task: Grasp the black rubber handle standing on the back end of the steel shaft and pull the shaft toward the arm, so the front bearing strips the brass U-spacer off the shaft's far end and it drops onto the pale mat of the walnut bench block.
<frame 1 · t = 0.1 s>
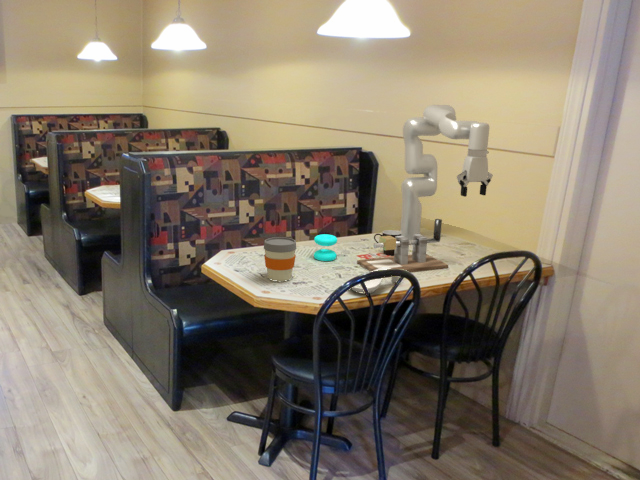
hand: (473, 195, 242), 31 cm above the table, tool pointing down, fingers open, 9 cm apart
coffee mug: (387, 253, 268), on the table
spacer: (387, 248, 245), point 8 cm above the table, touching shaft
donuts: (325, 259, 257), on the table
bench block: (404, 265, 250), on the table
shaft: (408, 233, 247), point 14 cm above the table, slide at 0.0 cm, touching spacer
reusable coffee cup: (279, 278, 229), on the table
spoon rest: (374, 289, 222), on the table
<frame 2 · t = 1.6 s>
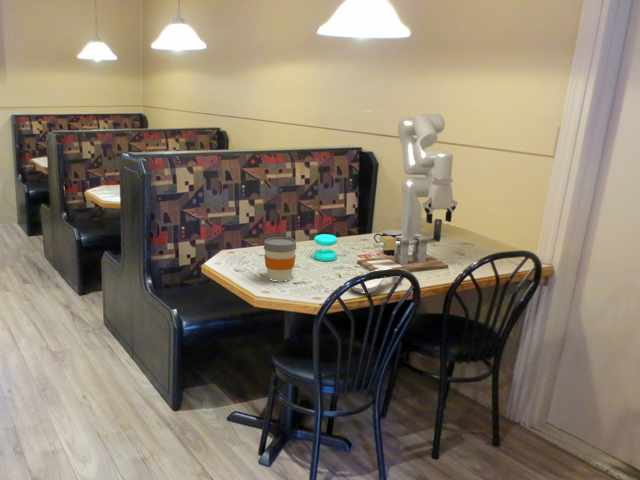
hand: (438, 222, 251), 18 cm above the table, tool pointing down, fingers open, 9 cm apart
nothing on the table moved.
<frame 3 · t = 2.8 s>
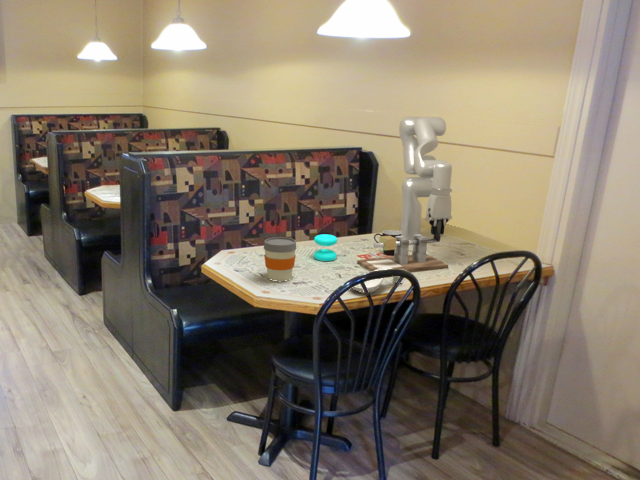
hand: (437, 233, 253), 13 cm above the table, tool pointing down, fingers closed on shaft, 3 cm apart
shaft: (408, 233, 247), point 14 cm above the table, slide at 0.0 cm, touching gripper, spacer
everything else where it was.
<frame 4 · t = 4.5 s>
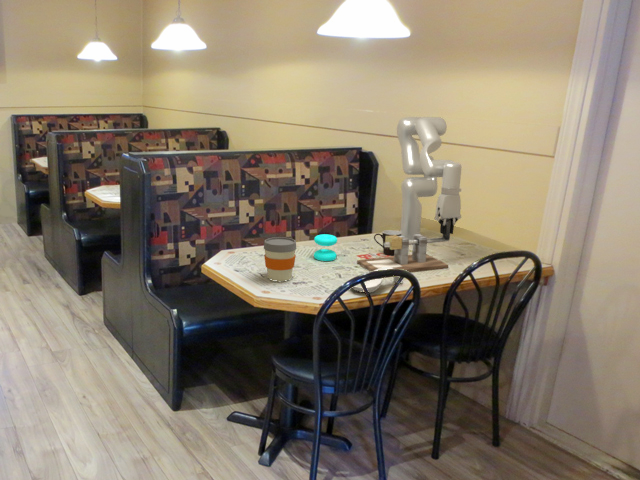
hand: (446, 233, 255), 13 cm above the table, tool pointing down, fingers closed on shaft, 3 cm apart
spacer: (393, 247, 246), point 8 cm above the table, touching shaft
shaft: (418, 232, 249), point 14 cm above the table, slide at 4.9 cm, touching gripper, spacer
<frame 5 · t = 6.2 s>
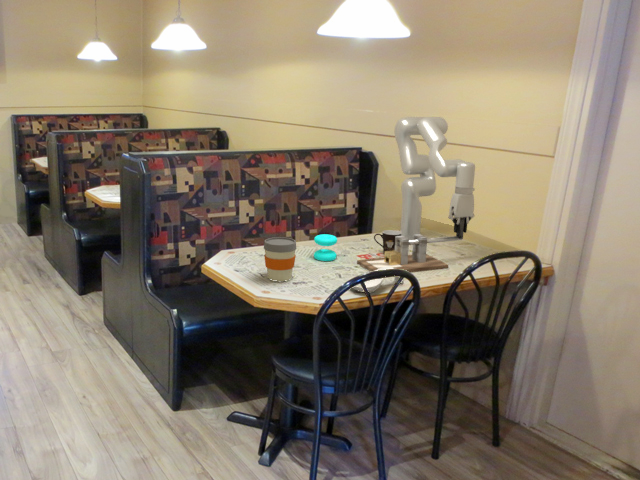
hand: (460, 231, 258), 13 cm above the table, tool pointing down, fingers closed on shaft, 3 cm apart
spacer: (392, 263, 247), point 2 cm above the table, touching bench block
shaft: (432, 231, 252), point 14 cm above the table, slide at 12.0 cm, touching gripper
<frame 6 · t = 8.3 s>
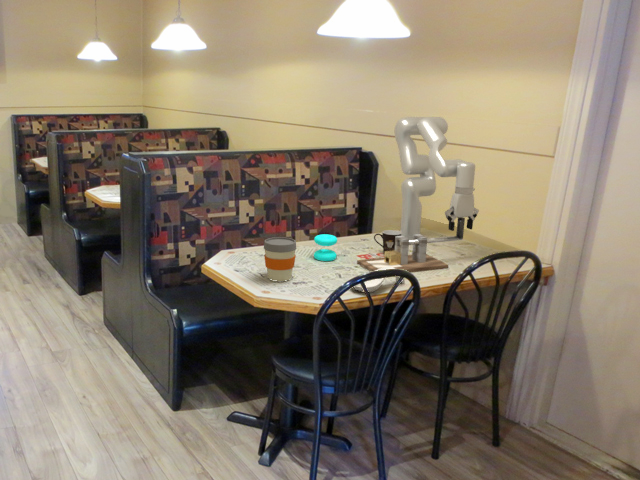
hand: (460, 229, 258), 14 cm above the table, tool pointing down, fingers open, 9 cm apart
shaft: (432, 231, 252), point 14 cm above the table, slide at 12.0 cm
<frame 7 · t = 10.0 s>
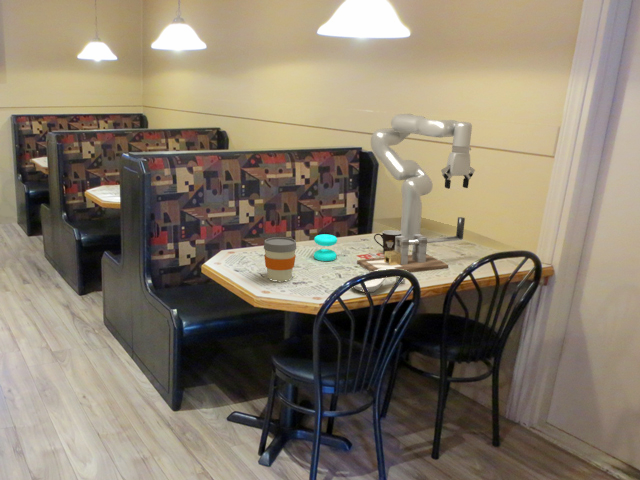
hand: (456, 187, 268), 30 cm above the table, tool pointing down, fingers open, 9 cm apart
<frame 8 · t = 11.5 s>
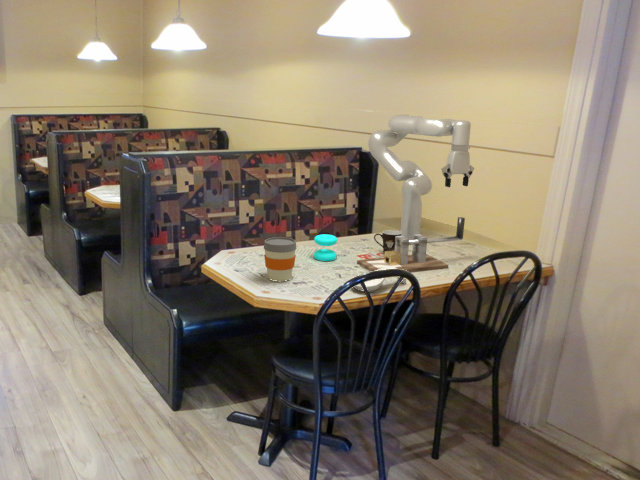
hand: (456, 186, 268), 30 cm above the table, tool pointing down, fingers open, 9 cm apart
at the end: shaft slide at 12.0 cm; spacer point 1.7 cm above the table; spacer touching bench block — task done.
